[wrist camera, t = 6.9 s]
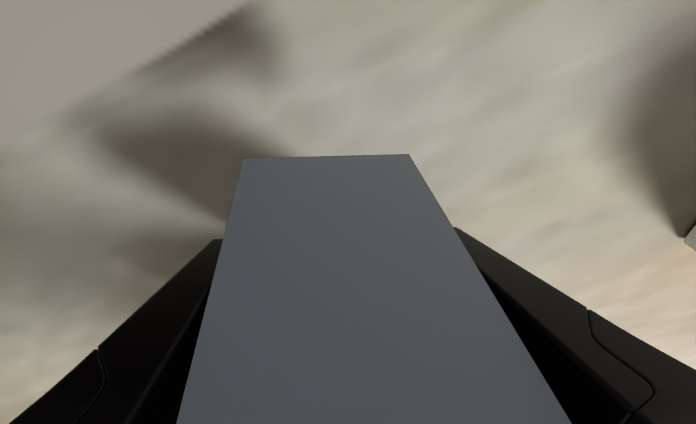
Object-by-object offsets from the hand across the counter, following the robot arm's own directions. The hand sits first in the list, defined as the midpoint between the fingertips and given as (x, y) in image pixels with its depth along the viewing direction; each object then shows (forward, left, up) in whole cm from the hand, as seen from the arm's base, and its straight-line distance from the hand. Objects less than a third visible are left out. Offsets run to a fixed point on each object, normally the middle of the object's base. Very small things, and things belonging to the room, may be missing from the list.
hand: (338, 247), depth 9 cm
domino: (0, 0, -3) cm, 3 cm away
